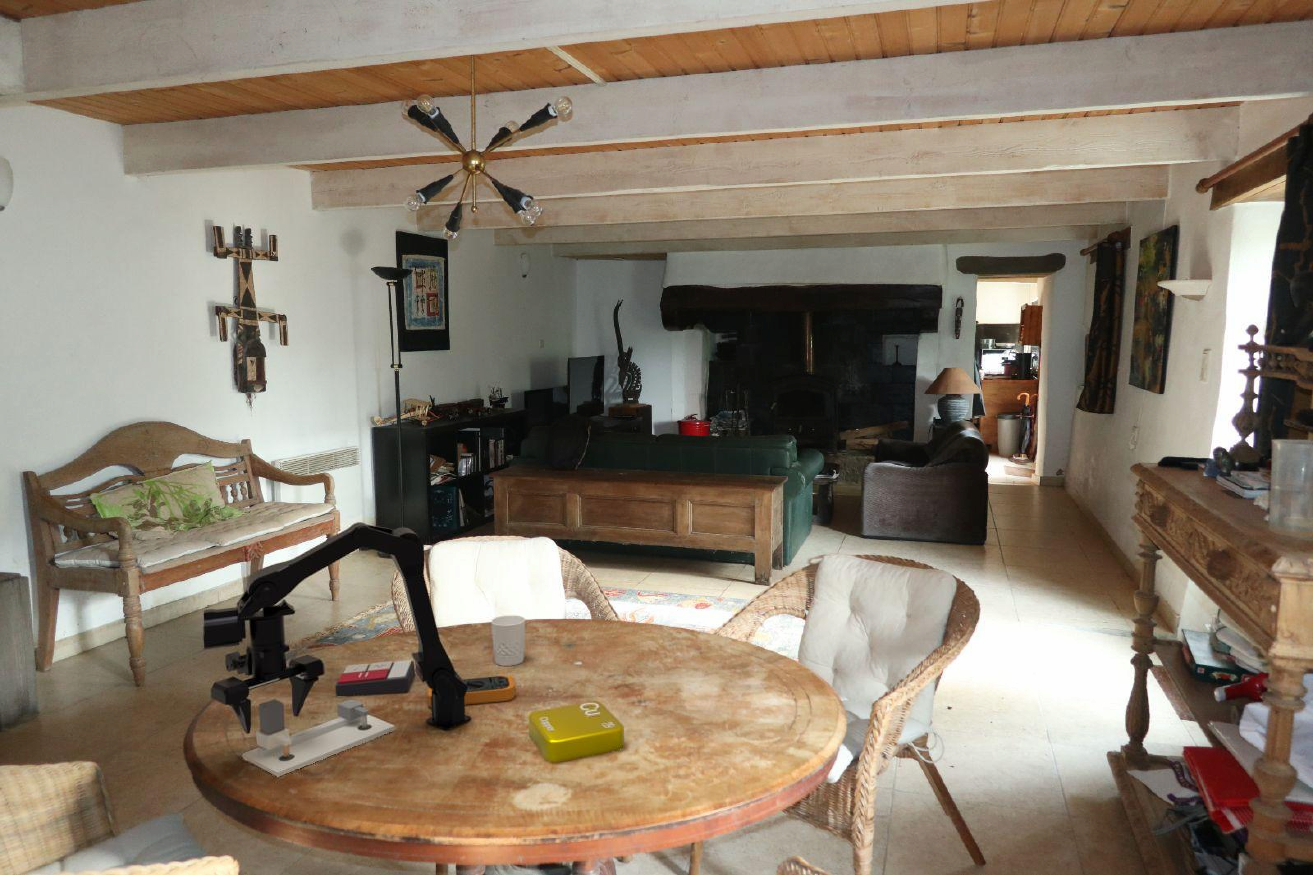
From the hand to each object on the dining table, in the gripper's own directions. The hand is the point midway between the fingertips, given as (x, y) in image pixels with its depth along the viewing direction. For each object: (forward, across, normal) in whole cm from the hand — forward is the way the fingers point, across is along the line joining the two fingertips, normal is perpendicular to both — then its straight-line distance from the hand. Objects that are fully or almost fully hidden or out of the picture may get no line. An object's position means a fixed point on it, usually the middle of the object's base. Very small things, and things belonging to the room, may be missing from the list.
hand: (272, 724), depth 161 cm
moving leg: (+5, 0, +2) cm, 5 cm away
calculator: (+7, -32, -15) cm, 36 cm away
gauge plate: (+6, -8, +2) cm, 10 cm away
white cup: (+6, -60, -2) cm, 60 cm away
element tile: (+7, -38, +39) cm, 55 cm away
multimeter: (+7, -40, +8) cm, 41 cm away
